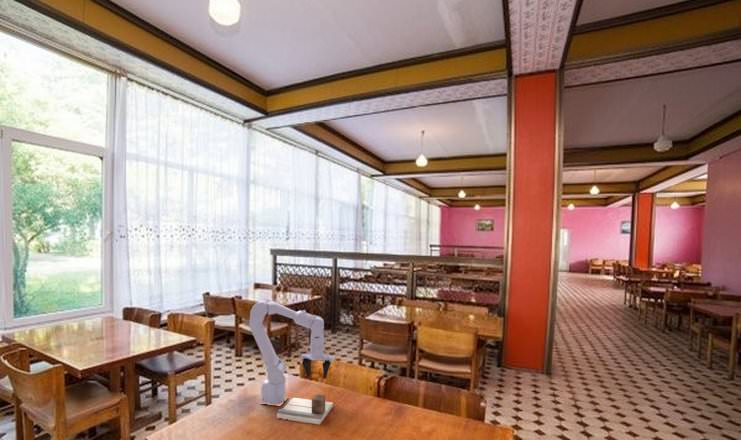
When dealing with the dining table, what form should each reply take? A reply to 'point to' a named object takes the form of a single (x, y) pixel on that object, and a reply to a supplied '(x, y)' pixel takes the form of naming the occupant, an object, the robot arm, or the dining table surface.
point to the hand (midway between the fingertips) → (316, 377)
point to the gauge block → (318, 404)
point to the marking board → (303, 411)
